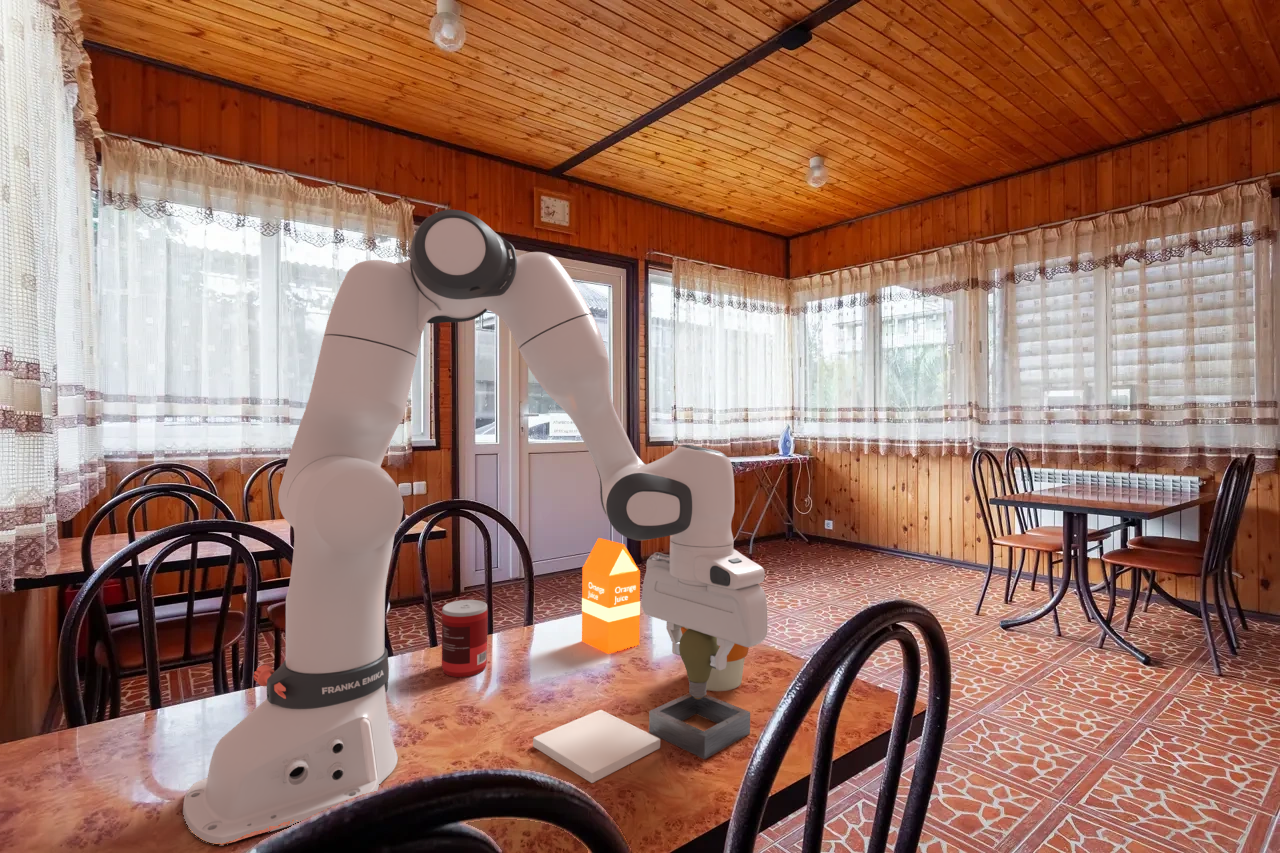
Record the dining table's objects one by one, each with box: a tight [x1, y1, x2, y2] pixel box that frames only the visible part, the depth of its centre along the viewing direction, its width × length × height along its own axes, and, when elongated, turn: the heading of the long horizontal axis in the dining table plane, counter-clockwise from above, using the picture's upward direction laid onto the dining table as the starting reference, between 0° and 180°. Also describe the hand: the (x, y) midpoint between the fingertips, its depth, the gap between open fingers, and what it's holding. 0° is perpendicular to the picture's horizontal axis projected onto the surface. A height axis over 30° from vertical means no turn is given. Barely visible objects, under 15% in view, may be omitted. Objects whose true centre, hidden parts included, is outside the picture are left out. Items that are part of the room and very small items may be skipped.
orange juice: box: [581, 537, 641, 655], centre depth 126 cm, size 8×9×20 cm
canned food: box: [441, 599, 489, 678], centre depth 112 cm, size 8×8×11 cm
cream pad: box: [532, 709, 661, 784], centre depth 86 cm, size 12×12×1 cm
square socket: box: [648, 692, 751, 760], centre depth 90 cm, size 10×10×3 cm
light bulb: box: [679, 629, 719, 699], centre depth 90 cm, size 6×6×10 cm
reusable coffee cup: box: [681, 627, 750, 692], centre depth 109 cm, size 13×13×15 cm
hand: (698, 661), depth 90 cm, fingers closed on light bulb, 5 cm apart
